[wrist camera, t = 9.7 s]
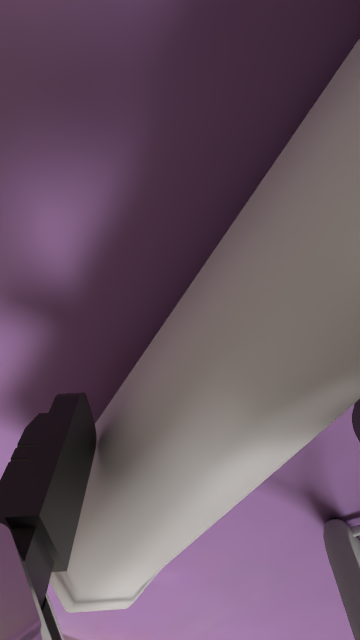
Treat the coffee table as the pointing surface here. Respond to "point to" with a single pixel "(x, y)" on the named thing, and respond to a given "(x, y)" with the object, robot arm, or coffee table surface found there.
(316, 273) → the tube
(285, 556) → the coffee table surface
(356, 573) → the newton's cradle
